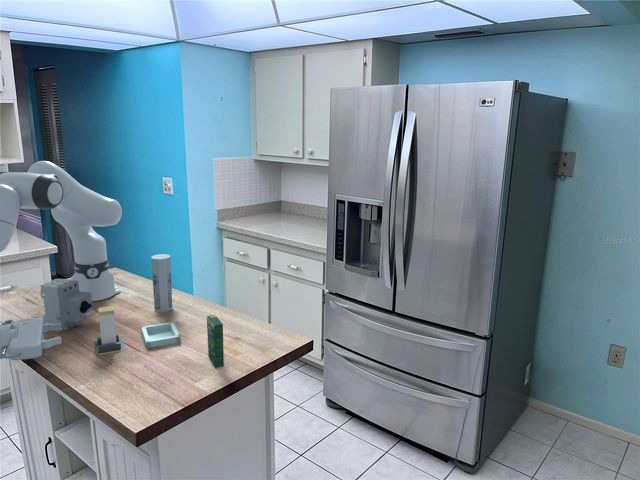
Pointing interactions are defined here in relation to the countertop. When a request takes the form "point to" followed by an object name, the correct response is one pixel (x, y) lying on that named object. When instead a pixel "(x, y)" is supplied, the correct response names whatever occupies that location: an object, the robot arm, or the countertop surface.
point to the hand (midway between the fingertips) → (61, 333)
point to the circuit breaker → (65, 303)
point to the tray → (160, 334)
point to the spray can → (162, 282)
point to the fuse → (107, 325)
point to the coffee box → (215, 341)
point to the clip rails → (108, 346)
